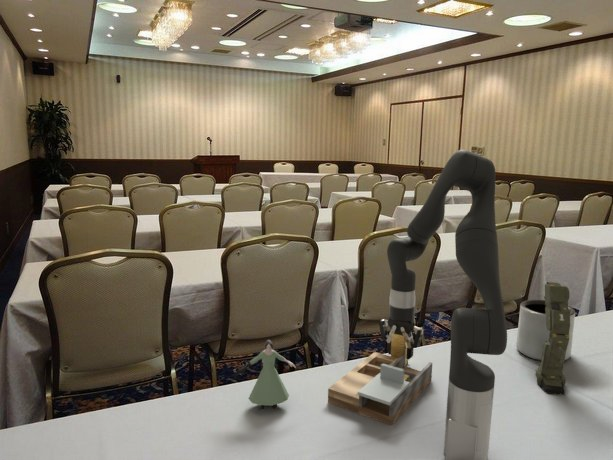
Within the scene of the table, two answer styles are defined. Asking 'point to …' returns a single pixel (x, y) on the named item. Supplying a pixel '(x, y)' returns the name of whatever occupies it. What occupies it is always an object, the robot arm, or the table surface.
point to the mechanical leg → (555, 339)
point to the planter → (537, 329)
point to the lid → (385, 385)
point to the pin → (399, 346)
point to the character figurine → (267, 379)
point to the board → (378, 406)
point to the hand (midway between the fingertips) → (399, 355)
